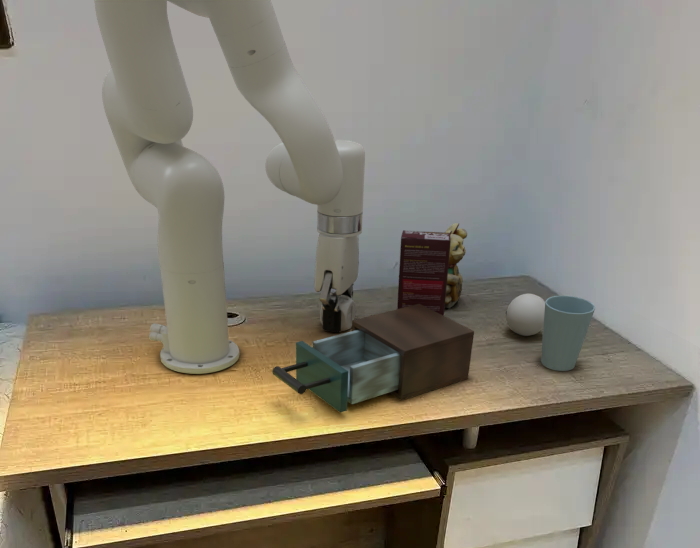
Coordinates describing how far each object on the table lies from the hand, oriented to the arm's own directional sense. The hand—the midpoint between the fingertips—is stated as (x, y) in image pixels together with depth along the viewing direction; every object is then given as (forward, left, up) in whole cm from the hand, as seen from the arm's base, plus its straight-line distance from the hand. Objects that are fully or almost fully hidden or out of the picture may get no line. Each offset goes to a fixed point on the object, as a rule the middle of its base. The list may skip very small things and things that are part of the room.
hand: (337, 323), depth 132 cm
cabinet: (+17, -13, 0) cm, 21 cm away
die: (0, 0, -1) cm, 1 cm away
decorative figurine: (+14, +19, -1) cm, 24 cm away
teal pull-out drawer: (+9, -24, 0) cm, 26 cm away
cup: (+39, 0, -1) cm, 39 cm away
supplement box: (+13, +8, -1) cm, 15 cm away
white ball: (+31, +11, -1) cm, 33 cm away
